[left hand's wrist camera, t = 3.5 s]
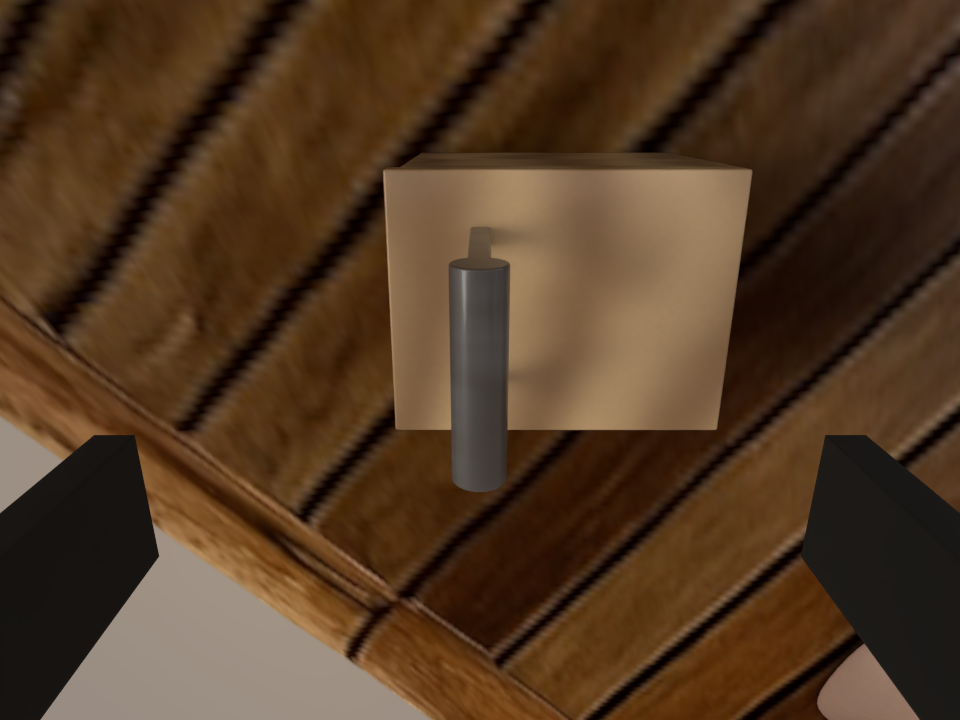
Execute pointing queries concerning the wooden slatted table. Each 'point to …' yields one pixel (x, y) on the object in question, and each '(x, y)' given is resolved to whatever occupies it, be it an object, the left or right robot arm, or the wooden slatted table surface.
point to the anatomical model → (862, 692)
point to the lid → (559, 301)
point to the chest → (559, 160)
